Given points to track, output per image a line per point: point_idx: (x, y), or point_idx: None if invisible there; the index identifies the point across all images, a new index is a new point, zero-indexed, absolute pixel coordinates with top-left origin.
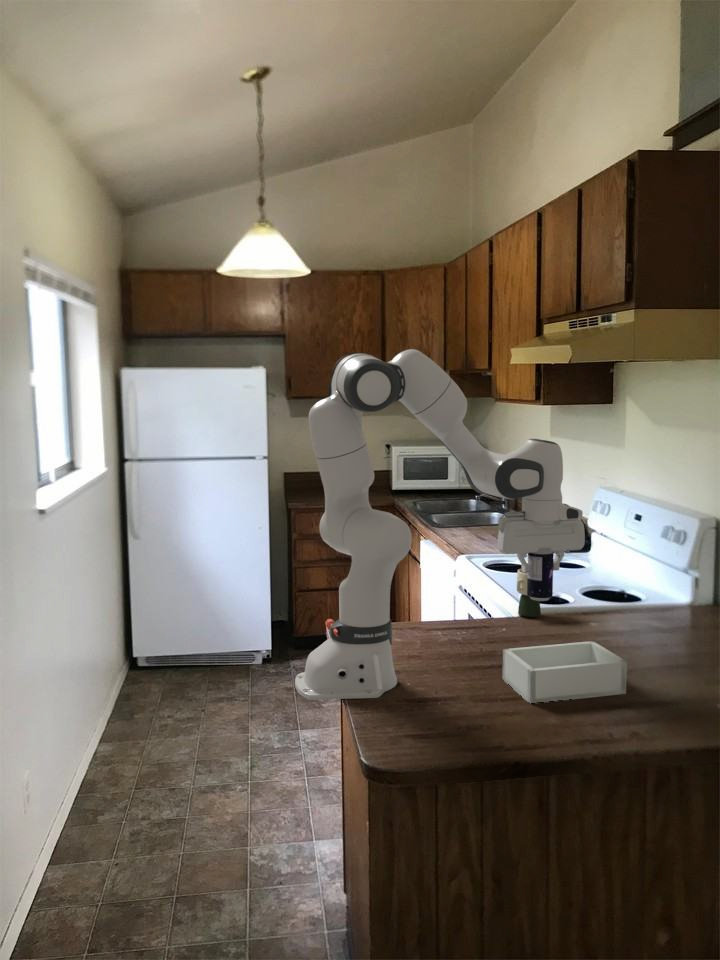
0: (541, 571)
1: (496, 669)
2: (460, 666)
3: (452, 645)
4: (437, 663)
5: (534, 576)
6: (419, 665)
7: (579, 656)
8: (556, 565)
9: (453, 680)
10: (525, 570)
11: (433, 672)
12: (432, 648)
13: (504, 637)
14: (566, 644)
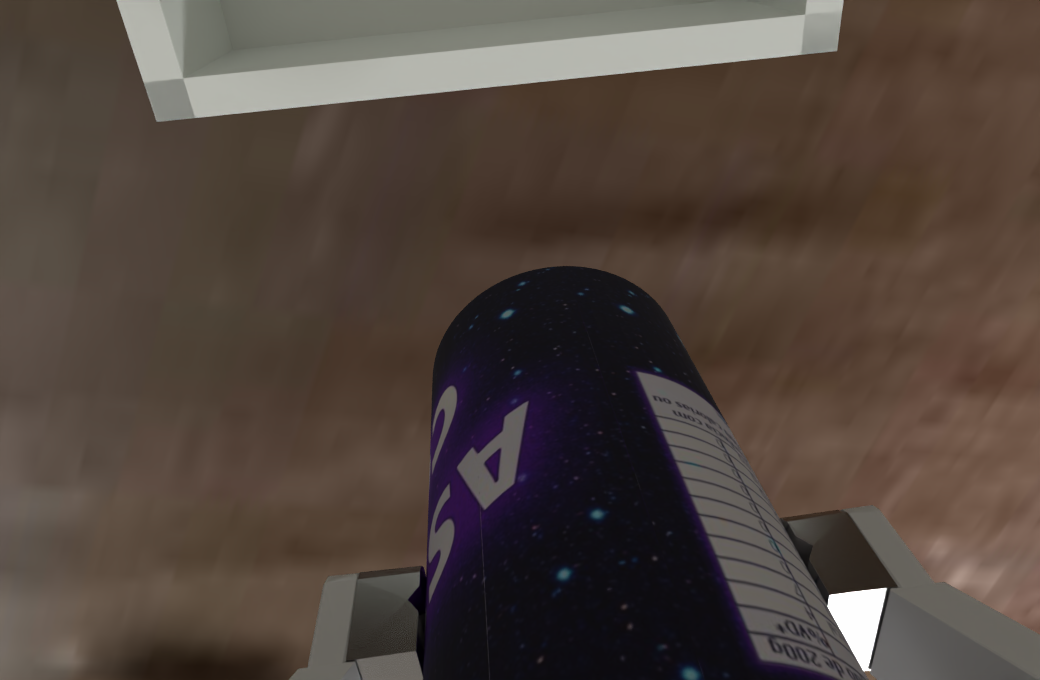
0: (677, 453)
1: (717, 178)
2: (861, 240)
3: (767, 478)
4: (937, 289)
5: (731, 436)
6: (1024, 276)
7: (289, 54)
8: (365, 625)
9: (992, 59)
10: (877, 516)
11: (1018, 182)
12: (862, 455)
13: None
14: (372, 77)
